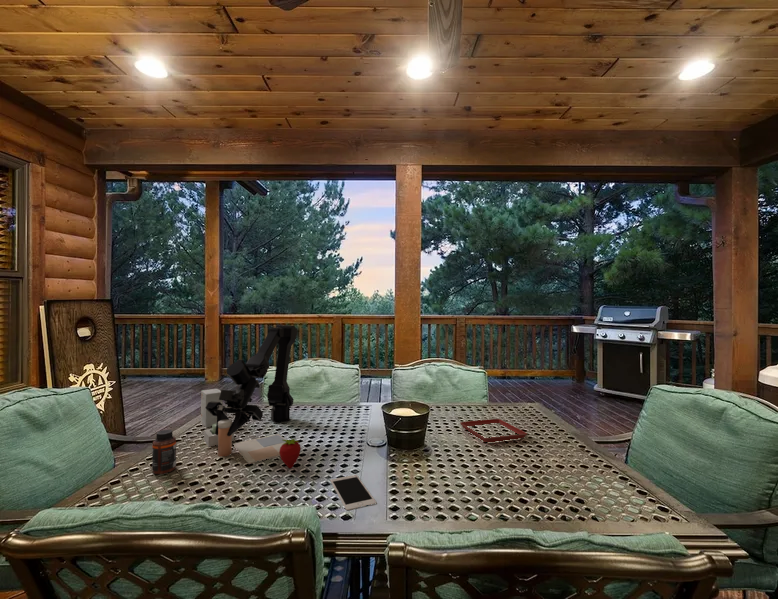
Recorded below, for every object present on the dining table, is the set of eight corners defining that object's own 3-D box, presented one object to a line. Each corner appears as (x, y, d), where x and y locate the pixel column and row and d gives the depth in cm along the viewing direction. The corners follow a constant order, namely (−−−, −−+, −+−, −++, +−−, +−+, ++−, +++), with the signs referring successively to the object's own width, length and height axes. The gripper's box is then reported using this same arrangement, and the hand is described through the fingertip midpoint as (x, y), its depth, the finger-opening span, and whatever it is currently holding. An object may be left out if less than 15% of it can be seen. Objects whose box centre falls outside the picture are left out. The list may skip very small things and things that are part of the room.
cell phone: (346, 512, 88) (346, 509, 88) (329, 481, 103) (329, 479, 103) (376, 505, 91) (376, 502, 91) (356, 476, 106) (356, 474, 106)
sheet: (278, 435, 136) (278, 433, 136) (298, 451, 122) (298, 449, 122) (232, 445, 126) (232, 443, 126) (248, 464, 112) (248, 462, 112)
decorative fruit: (275, 473, 106) (275, 438, 106) (285, 462, 114) (285, 429, 114) (294, 475, 105) (295, 440, 106) (304, 463, 113) (304, 430, 113)
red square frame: (498, 426, 150) (498, 417, 150) (528, 442, 133) (528, 433, 133) (459, 430, 145) (459, 422, 145) (484, 448, 127) (484, 438, 127)
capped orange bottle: (229, 450, 122) (230, 418, 122) (233, 454, 119) (233, 422, 119) (216, 453, 120) (216, 421, 120) (219, 457, 116) (219, 424, 116)
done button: (223, 431, 133) (223, 421, 133) (226, 435, 130) (226, 425, 130) (210, 434, 131) (211, 424, 131) (213, 437, 127) (213, 427, 127)
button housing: (227, 435, 136) (227, 425, 136) (233, 441, 129) (233, 431, 129) (203, 439, 131) (203, 429, 131) (208, 447, 125) (208, 436, 125)
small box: (222, 424, 147) (223, 391, 147) (205, 428, 143) (205, 394, 143) (217, 419, 153) (217, 388, 153) (200, 422, 149) (200, 390, 149)
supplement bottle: (180, 467, 109) (181, 429, 109) (162, 476, 104) (163, 436, 104) (165, 464, 111) (166, 427, 111) (147, 473, 106) (147, 433, 106)
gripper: (209, 377, 125) (183, 420, 115) (258, 381, 121) (236, 425, 110) (224, 395, 133) (202, 436, 122) (271, 398, 129) (251, 442, 118)
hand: (222, 435), depth 118 cm, fingers open, 4 cm apart
